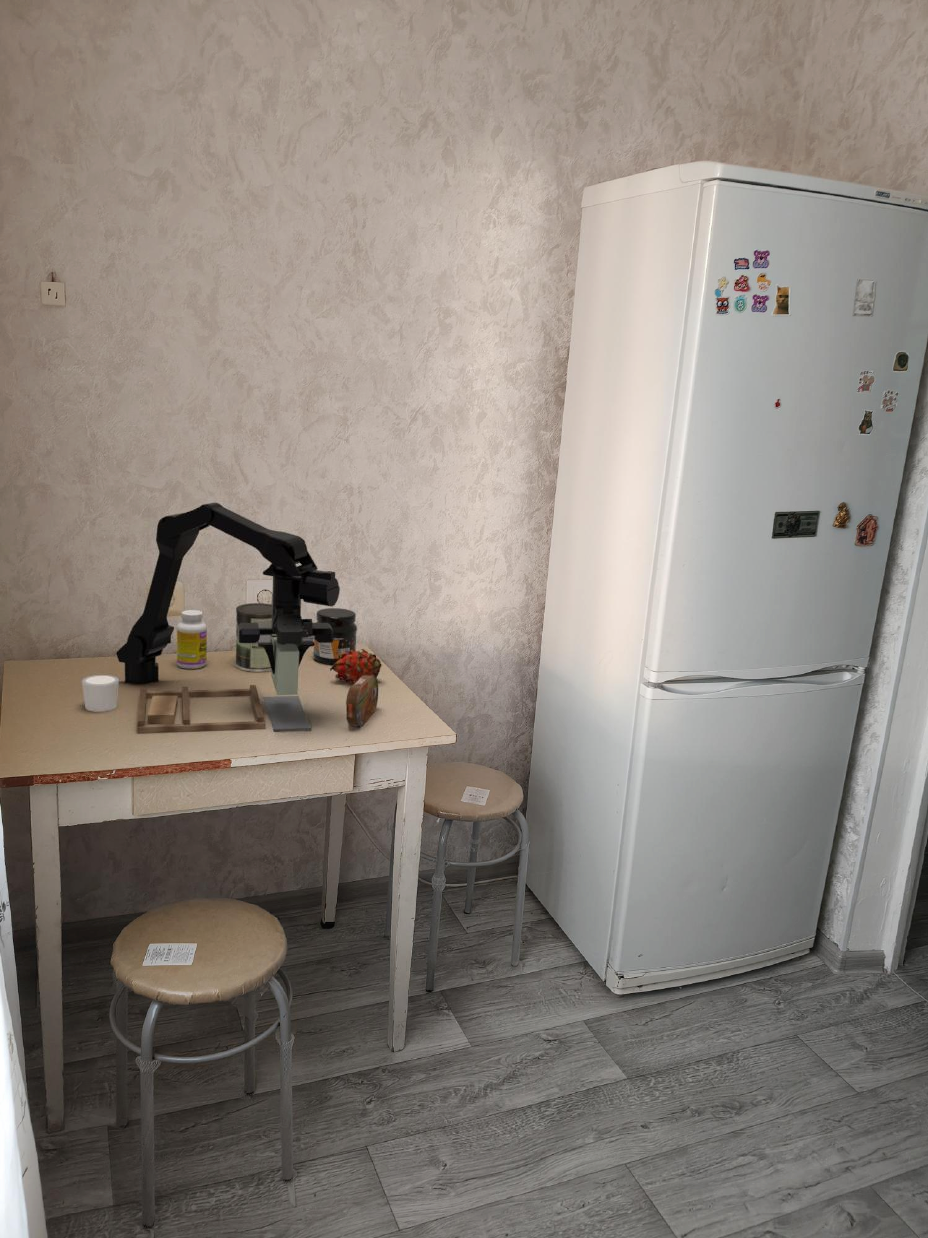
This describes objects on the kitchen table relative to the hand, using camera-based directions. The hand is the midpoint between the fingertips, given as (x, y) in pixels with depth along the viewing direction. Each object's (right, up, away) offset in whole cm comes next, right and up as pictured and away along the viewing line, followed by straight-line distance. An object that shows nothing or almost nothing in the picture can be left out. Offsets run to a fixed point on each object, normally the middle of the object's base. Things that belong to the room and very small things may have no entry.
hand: (284, 673), depth 193 cm
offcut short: (-23, -8, -6) cm, 25 cm away
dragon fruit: (+12, -4, +25) cm, 28 cm away
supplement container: (+5, +1, +41) cm, 41 cm away
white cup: (-36, -8, -5) cm, 37 cm away
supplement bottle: (-27, 0, +28) cm, 39 cm away
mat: (-1, -9, +2) cm, 9 cm away
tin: (+15, -10, +3) cm, 19 cm away
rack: (-16, -9, -4) cm, 19 cm away
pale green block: (0, -2, +1) cm, 3 cm away
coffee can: (-12, 0, +32) cm, 34 cm away
